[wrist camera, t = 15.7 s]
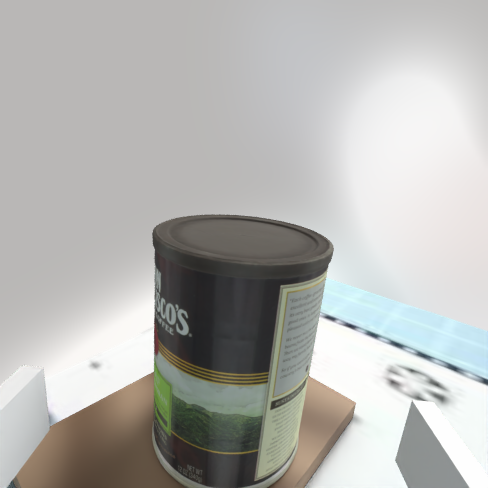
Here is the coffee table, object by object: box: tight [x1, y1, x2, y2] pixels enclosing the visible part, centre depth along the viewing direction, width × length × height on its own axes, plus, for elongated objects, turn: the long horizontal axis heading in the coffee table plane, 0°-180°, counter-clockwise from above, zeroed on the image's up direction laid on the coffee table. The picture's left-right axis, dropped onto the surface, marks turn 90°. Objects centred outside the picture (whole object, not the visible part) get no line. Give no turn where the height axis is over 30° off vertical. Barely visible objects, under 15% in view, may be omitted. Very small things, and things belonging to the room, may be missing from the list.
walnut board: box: [13, 372, 356, 488], centre depth 22 cm, size 20×14×2 cm
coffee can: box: [152, 215, 334, 488], centre depth 20 cm, size 10×10×14 cm
